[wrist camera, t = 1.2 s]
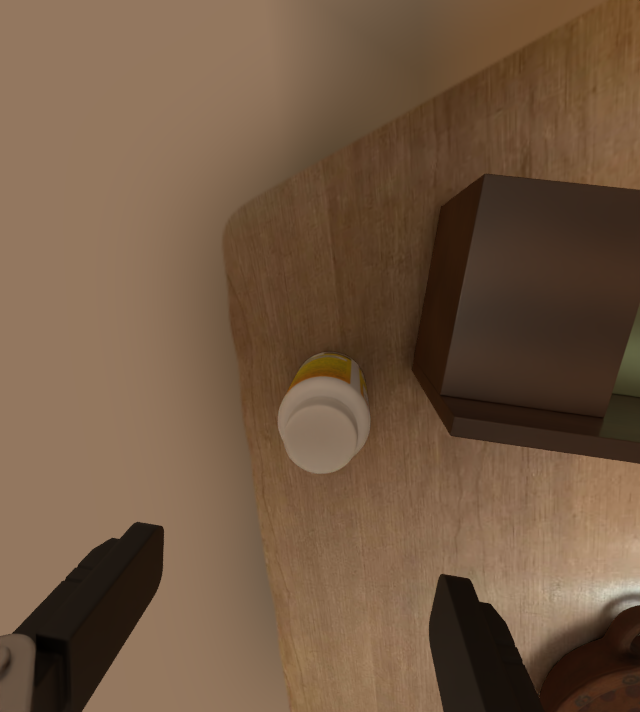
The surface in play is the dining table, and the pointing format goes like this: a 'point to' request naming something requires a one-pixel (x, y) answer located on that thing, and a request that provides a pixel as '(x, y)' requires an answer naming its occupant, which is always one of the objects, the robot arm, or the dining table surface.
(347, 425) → the supplement bottle
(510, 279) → the shelf
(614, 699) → the dish
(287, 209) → the dining table surface
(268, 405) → the dining table surface
